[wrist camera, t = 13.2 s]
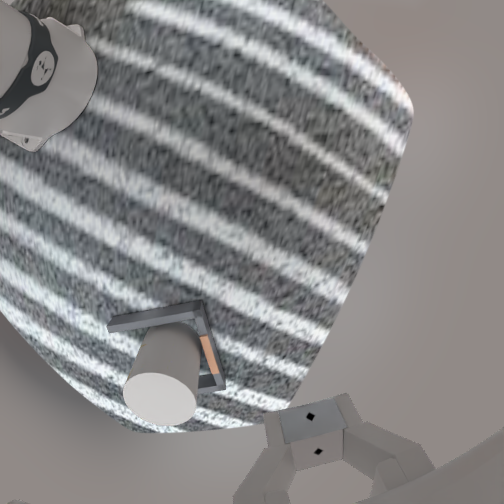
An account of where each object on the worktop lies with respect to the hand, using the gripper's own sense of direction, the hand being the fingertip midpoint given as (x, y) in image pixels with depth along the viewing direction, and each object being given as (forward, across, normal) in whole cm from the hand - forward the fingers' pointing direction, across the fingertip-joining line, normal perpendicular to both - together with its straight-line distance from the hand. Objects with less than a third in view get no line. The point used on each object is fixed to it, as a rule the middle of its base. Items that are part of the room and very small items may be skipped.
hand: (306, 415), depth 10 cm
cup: (+29, -13, -13) cm, 35 cm away
